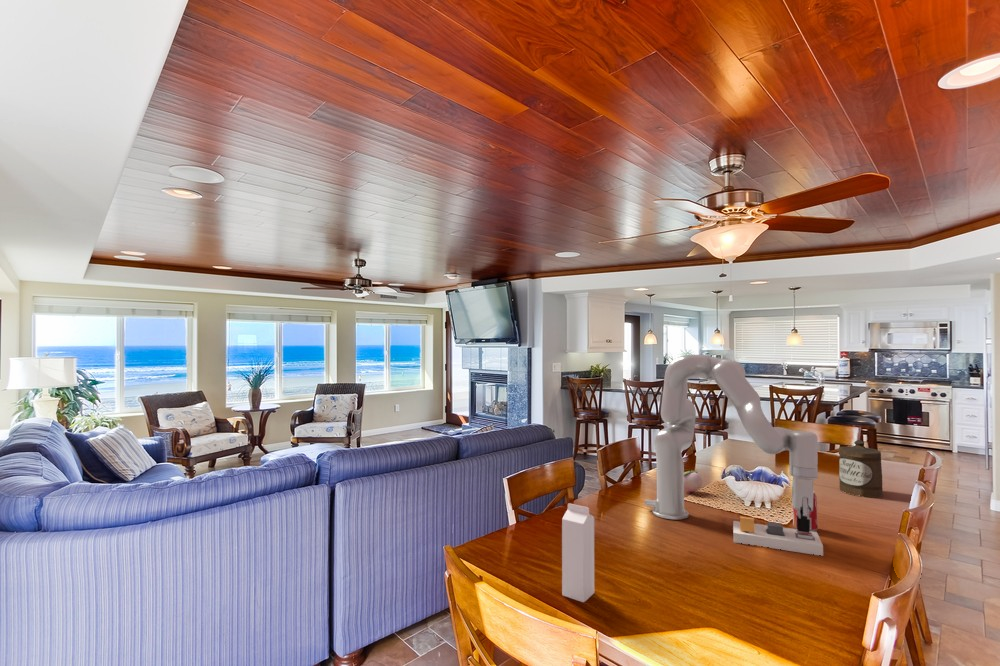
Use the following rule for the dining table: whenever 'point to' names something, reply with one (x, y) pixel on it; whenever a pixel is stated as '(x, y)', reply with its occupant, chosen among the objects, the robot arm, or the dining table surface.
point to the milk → (577, 553)
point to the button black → (775, 528)
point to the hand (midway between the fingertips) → (803, 530)
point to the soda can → (811, 515)
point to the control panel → (778, 539)
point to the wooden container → (860, 470)
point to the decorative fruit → (692, 481)
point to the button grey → (804, 535)
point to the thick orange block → (746, 524)
